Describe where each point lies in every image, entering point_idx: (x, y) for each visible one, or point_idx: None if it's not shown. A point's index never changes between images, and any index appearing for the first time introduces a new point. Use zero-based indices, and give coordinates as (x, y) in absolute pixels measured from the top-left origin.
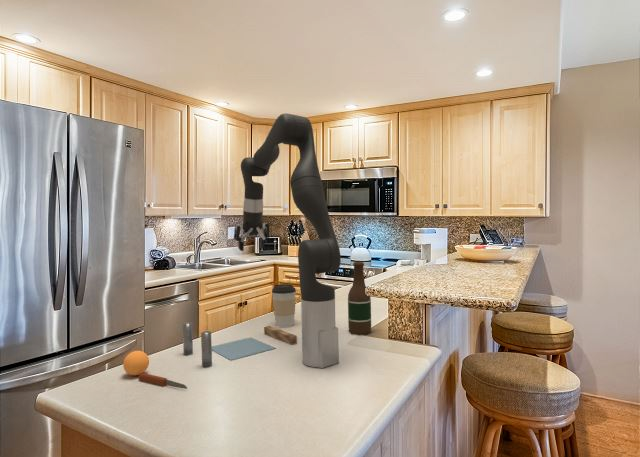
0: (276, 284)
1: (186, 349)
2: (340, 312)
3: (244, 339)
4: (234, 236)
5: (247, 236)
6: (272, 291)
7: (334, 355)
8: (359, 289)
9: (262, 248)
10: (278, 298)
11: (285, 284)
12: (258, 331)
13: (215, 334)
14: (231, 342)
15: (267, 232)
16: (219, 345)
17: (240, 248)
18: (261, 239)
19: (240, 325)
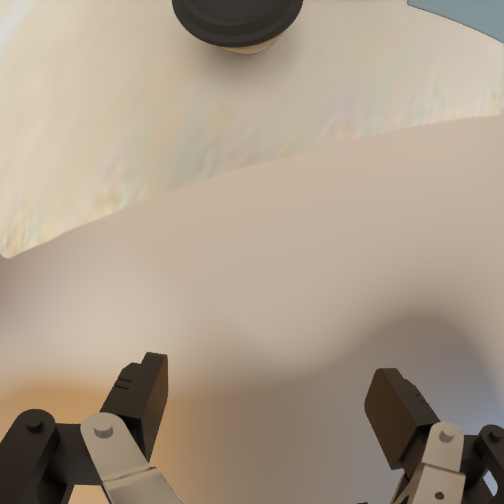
0: (252, 20)
1: None
2: (33, 56)
3: (429, 6)
4: (485, 484)
5: (421, 476)
6: (297, 10)
7: None
8: None
9: (153, 353)
10: None
11: (198, 8)
12: (357, 31)
13: (452, 113)
14: (461, 18)
15: (17, 474)
16: (486, 29)
17: (410, 386)
18: (136, 439)
19: (357, 132)
